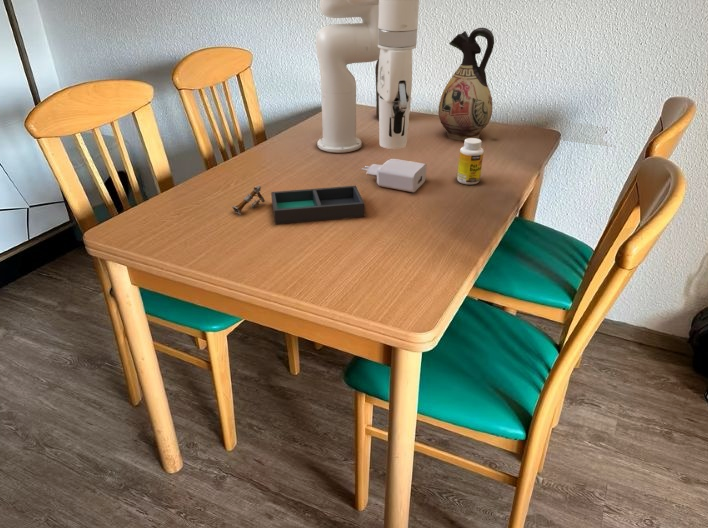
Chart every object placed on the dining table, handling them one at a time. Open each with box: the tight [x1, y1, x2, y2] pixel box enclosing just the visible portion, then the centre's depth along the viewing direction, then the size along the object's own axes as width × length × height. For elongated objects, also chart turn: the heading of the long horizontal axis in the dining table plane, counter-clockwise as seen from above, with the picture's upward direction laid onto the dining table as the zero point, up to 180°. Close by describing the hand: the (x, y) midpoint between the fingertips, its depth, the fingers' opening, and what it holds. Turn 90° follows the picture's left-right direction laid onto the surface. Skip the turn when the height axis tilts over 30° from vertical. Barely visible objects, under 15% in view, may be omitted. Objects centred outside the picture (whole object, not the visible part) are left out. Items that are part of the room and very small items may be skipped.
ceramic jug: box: [438, 27, 495, 141], centre depth 162 cm, size 17×15×30 cm
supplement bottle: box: [456, 138, 485, 186], centre depth 139 cm, size 6×6×10 cm
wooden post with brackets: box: [231, 185, 266, 215], centre depth 128 cm, size 2×8×4 cm, turn 136°
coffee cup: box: [378, 95, 412, 150], centre depth 120 cm, size 7×7×10 cm
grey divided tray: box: [270, 185, 366, 225], centre depth 127 cm, size 10×19×3 cm, turn 100°
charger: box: [361, 158, 428, 193], centre depth 140 cm, size 5×9×15 cm
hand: (393, 131), depth 121 cm, fingers closed on coffee cup, 4 cm apart
